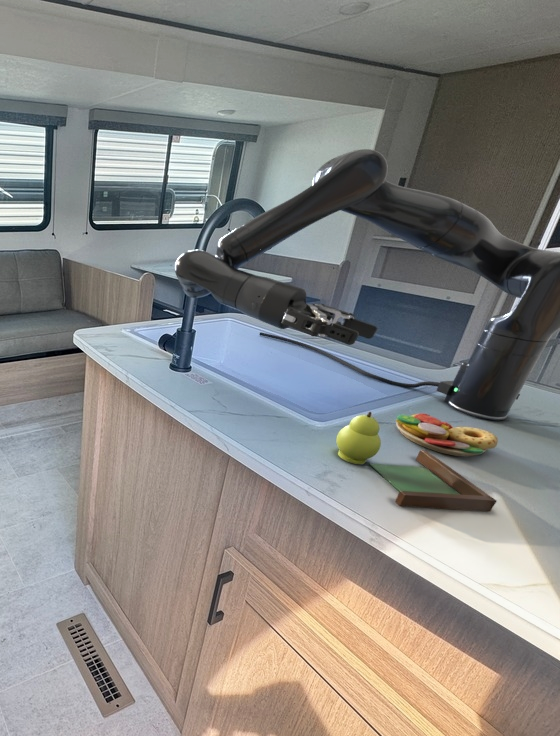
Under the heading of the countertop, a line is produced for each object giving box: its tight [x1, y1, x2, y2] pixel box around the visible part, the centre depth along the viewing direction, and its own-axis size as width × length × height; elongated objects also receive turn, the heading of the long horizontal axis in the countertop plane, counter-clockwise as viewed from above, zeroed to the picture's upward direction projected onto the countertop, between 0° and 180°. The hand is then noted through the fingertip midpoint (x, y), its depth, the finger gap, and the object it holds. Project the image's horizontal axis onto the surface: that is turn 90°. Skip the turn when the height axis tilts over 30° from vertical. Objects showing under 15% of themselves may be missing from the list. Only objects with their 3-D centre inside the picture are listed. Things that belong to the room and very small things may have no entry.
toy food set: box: [395, 413, 499, 457], centre depth 79 cm, size 13×13×3 cm
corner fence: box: [369, 449, 498, 512], centre depth 67 cm, size 13×13×2 cm
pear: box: [335, 411, 382, 465], centre depth 71 cm, size 6×6×9 cm
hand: (365, 336), depth 67 cm, fingers open, 8 cm apart
